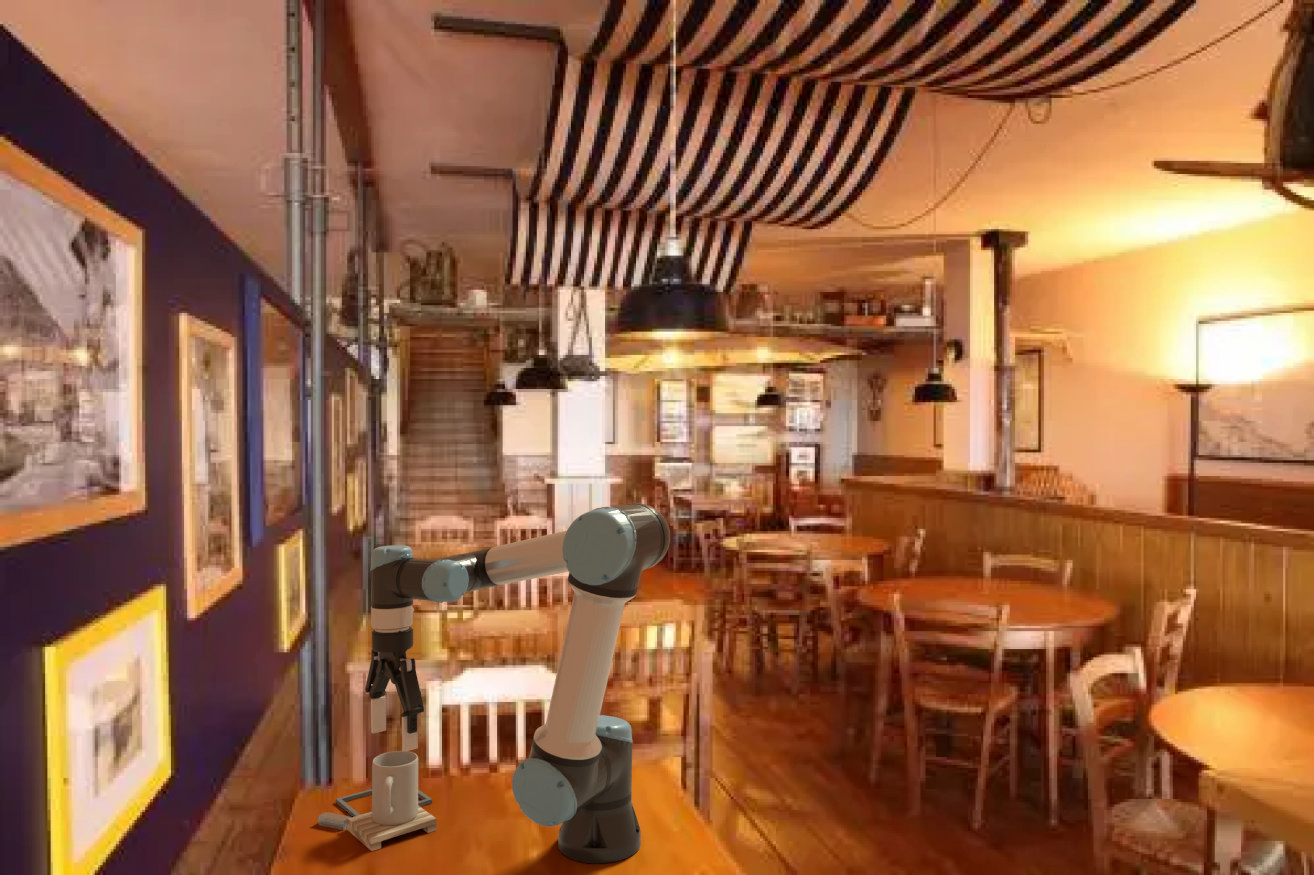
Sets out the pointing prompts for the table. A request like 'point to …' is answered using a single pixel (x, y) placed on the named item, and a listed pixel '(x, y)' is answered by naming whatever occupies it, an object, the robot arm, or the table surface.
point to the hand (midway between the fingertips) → (393, 740)
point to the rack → (387, 828)
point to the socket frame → (352, 812)
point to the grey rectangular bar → (333, 820)
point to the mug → (394, 788)
